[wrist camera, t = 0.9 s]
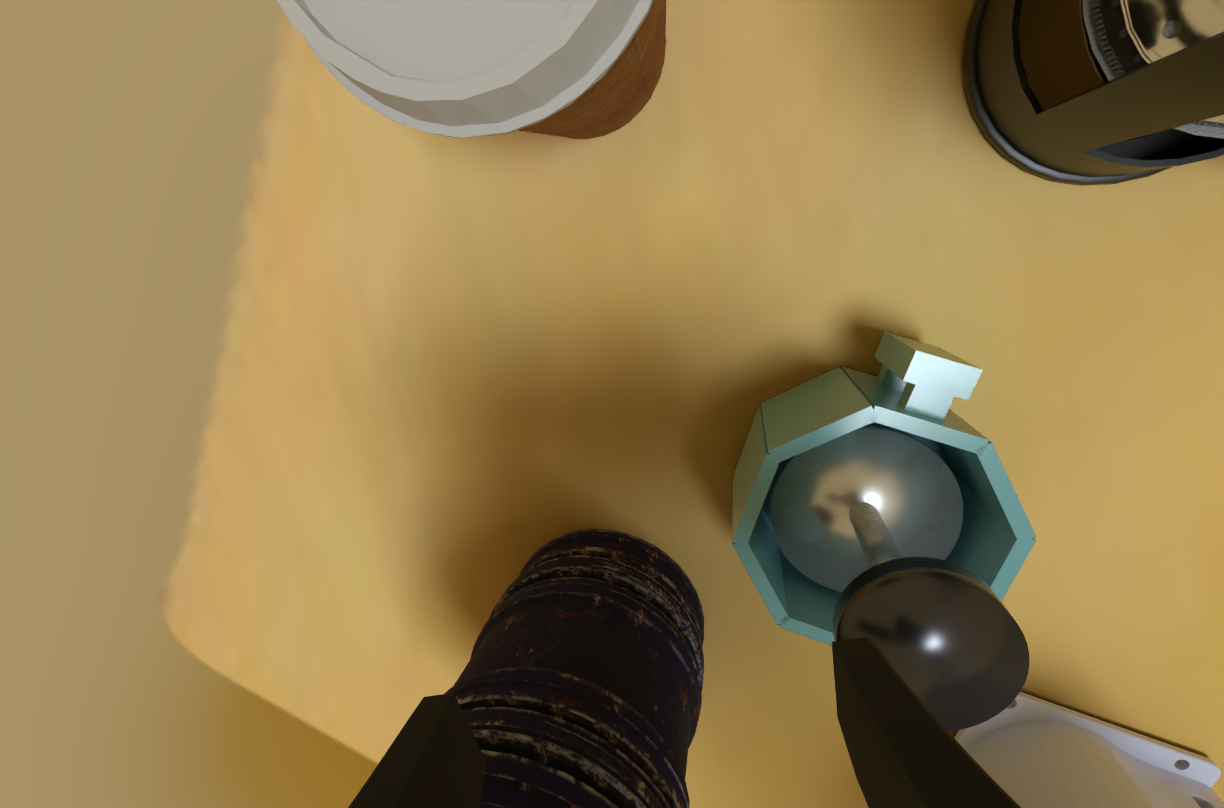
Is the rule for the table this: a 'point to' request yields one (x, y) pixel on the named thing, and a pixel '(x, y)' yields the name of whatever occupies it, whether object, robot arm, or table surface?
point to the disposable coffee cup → (492, 61)
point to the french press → (1105, 90)
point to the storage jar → (588, 678)
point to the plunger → (900, 569)
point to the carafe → (897, 400)
